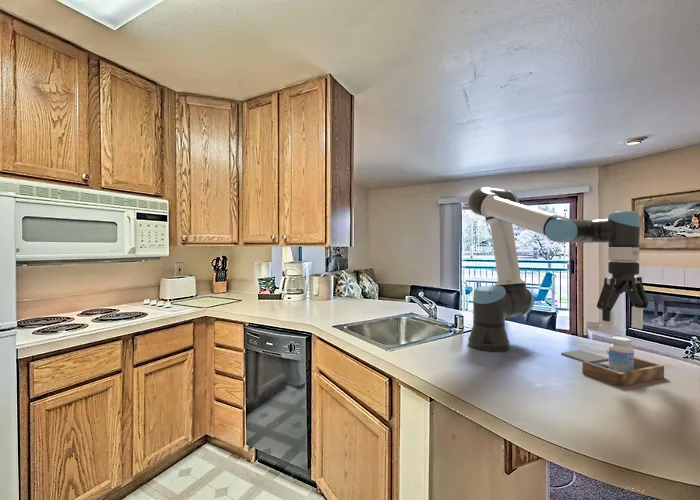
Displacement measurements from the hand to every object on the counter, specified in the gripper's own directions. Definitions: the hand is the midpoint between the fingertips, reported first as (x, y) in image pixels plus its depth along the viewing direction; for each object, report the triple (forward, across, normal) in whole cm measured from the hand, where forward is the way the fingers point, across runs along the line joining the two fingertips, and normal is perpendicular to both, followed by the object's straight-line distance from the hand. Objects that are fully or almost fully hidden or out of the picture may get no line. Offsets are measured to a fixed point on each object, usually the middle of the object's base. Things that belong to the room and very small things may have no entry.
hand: (622, 329), depth 106 cm
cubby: (+14, 0, 0) cm, 14 cm away
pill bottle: (+14, 0, 0) cm, 14 cm away
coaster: (+14, +5, +15) cm, 21 cm away
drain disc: (+14, +2, +8) cm, 16 cm away
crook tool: (+14, +18, +9) cm, 25 cm away
